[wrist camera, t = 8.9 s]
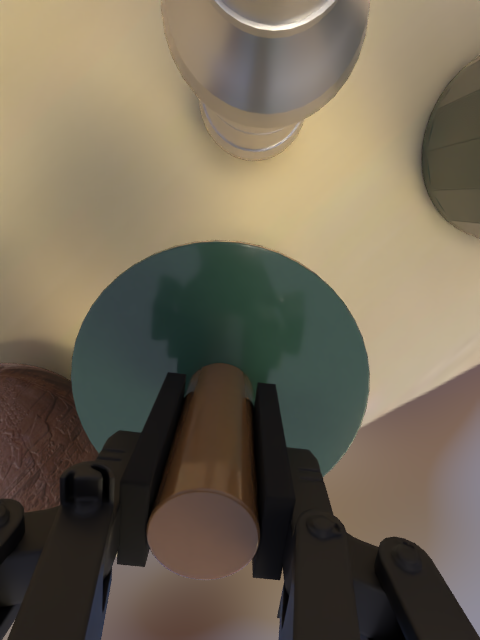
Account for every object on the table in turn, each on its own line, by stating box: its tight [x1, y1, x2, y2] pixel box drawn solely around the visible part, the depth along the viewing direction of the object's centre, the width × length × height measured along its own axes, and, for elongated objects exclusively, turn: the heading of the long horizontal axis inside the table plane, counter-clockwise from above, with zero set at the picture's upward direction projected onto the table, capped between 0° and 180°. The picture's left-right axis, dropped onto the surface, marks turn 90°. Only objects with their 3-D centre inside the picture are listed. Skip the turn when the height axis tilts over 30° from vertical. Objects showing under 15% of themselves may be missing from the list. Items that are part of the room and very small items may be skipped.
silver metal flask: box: [161, 0, 370, 161], centre depth 16 cm, size 6×7×20 cm
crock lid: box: [71, 240, 370, 580], centre depth 15 cm, size 14×14×9 cm
